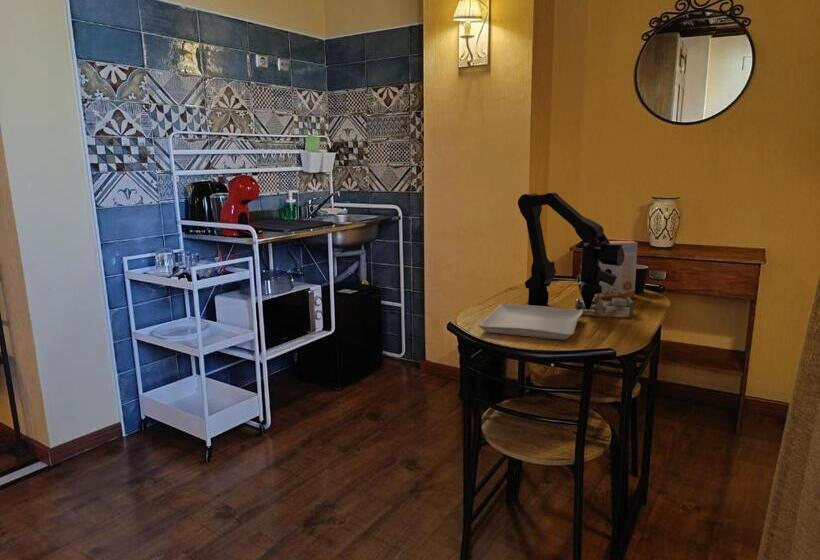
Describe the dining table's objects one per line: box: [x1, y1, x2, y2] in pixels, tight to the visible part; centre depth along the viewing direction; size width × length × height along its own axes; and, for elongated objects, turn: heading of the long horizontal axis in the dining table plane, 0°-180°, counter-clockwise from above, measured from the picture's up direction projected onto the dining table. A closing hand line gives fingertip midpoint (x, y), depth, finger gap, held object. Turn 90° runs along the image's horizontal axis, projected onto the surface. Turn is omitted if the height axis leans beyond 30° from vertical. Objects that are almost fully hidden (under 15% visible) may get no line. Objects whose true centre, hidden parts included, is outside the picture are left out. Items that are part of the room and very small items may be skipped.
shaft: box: [574, 298, 613, 310], centre depth 191 cm, size 12×4×4 cm, turn 79°
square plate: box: [478, 303, 583, 341], centre depth 177 cm, size 27×27×4 cm
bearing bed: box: [573, 296, 634, 318], centre depth 191 cm, size 20×7×5 cm, turn 79°
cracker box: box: [594, 240, 638, 299], centre depth 212 cm, size 14×6×21 cm, turn 89°
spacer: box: [611, 298, 627, 307], centre depth 190 cm, size 4×4×4 cm
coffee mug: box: [635, 264, 649, 295], centre depth 222 cm, size 12×9×10 cm
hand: (587, 308), depth 192 cm, fingers closed on shaft, 3 cm apart
